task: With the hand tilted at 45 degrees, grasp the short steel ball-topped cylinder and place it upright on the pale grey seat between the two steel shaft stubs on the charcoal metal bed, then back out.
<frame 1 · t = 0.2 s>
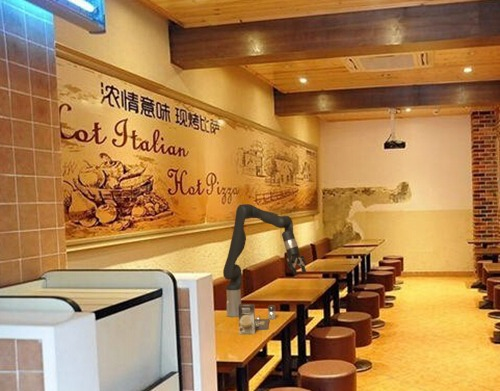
hand: (300, 274, 343), 31 cm above the table, tool tilted 20°, fingers open, 8 cm apart
coffee box: (247, 333, 333), on the table
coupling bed: (257, 325, 352), on the table
ball-topped cylinder: (272, 318, 368), on the table
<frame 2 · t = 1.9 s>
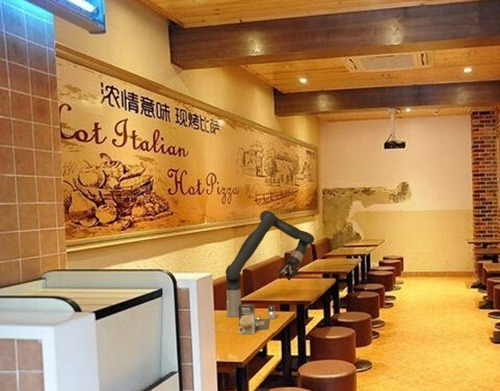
hand: (283, 279, 375), 24 cm above the table, tool tilted 45°, fingers open, 8 cm apart
nothing on the table moved.
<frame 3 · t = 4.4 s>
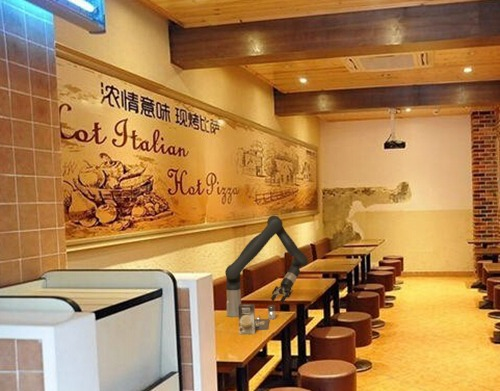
hand: (276, 301, 371), 10 cm above the table, tool tilted 45°, fingers open, 8 cm apart
nothing on the table moved.
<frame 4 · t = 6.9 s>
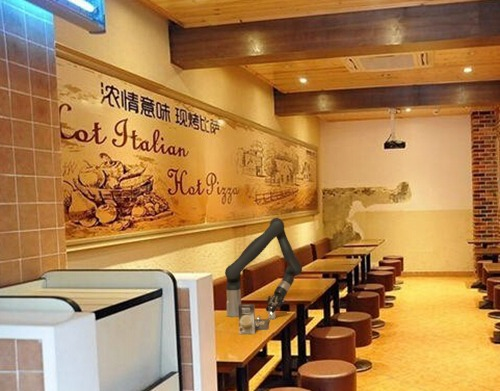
hand: (269, 311, 367), 5 cm above the table, tool tilted 45°, fingers closed on ball-topped cylinder, 4 cm apart
ball-topped cylinder: (272, 318, 368), on the table, touching gripper
everything else where it was.
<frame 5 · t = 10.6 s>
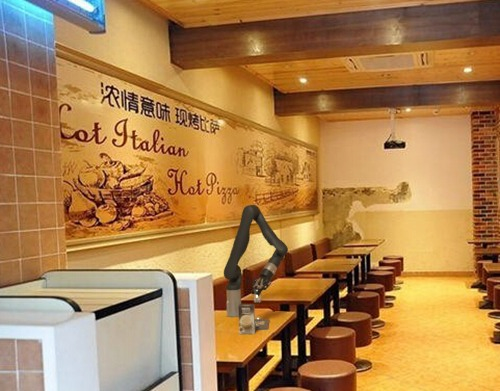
hand: (254, 294, 351), 19 cm above the table, tool tilted 45°, fingers closed on ball-topped cylinder, 4 cm apart
ball-topped cylinder: (257, 302, 352), point 14 cm above the table, touching gripper
everything else where it was.
when the fingers open (8 cm above the table, at t = 14.1 s): ball-topped cylinder drops 1 cm, resting on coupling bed.
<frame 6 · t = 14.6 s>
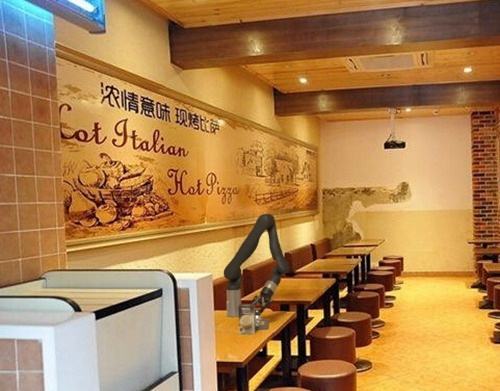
hand: (255, 311, 351), 8 cm above the table, tool tilted 45°, fingers open, 8 cm apart
ball-topped cylinder: (257, 322, 352), point 1 cm above the table, touching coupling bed
everything else where it was.
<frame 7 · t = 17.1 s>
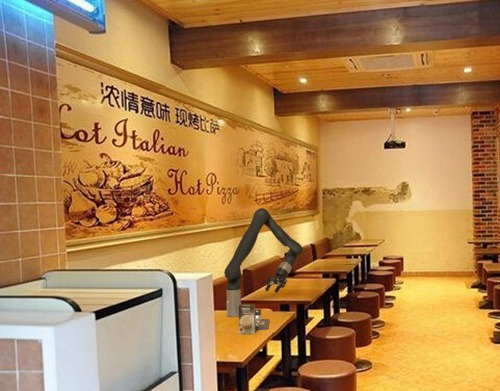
hand: (270, 291, 360), 19 cm above the table, tool tilted 45°, fingers open, 8 cm apart
nothing on the table moved.
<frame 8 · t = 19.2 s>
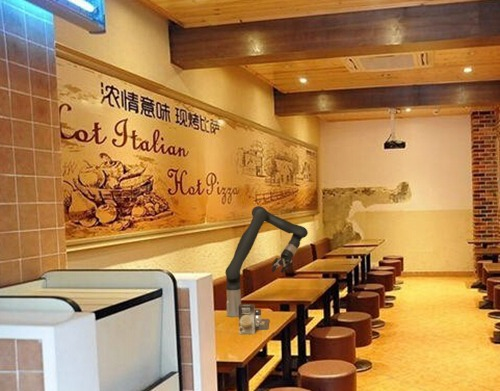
hand: (276, 272, 373), 29 cm above the table, tool tilted 45°, fingers open, 8 cm apart
nothing on the table moved.
at the end: ball-topped cylinder 0.2 cm off-centre on the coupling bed, point 1.3 cm above the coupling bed's base; ball-topped cylinder tilted 0°; the gripper is holding nothing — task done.
